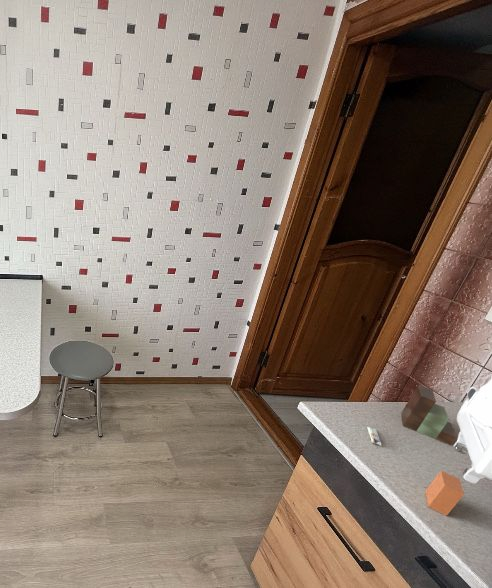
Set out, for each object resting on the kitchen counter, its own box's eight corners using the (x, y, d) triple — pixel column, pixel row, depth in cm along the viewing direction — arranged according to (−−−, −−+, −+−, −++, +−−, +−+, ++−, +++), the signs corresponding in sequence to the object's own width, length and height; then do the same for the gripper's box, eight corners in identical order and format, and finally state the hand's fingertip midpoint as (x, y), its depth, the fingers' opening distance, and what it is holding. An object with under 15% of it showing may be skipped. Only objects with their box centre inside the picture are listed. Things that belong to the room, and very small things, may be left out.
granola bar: (365, 427, 94) (367, 424, 94) (375, 431, 93) (377, 428, 93) (370, 443, 89) (372, 440, 88) (381, 447, 88) (383, 444, 87)
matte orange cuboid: (442, 499, 75) (459, 478, 72) (446, 516, 72) (464, 494, 69) (425, 491, 77) (440, 470, 74) (427, 506, 73) (444, 485, 70)
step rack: (446, 430, 96) (467, 401, 91) (450, 445, 91) (472, 414, 86) (400, 413, 101) (418, 384, 97) (402, 425, 96) (421, 396, 92)
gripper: (550, 457, 55) (499, 511, 60) (511, 397, 69) (473, 444, 75) (494, 436, 58) (451, 488, 64) (468, 383, 73) (435, 429, 78)
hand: (463, 464), depth 69 cm, fingers open, 8 cm apart
